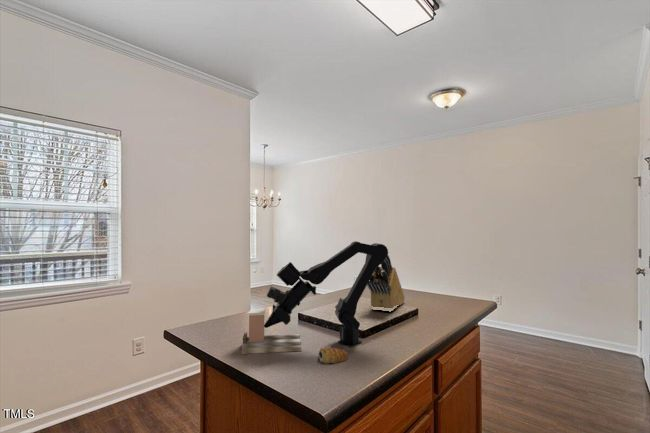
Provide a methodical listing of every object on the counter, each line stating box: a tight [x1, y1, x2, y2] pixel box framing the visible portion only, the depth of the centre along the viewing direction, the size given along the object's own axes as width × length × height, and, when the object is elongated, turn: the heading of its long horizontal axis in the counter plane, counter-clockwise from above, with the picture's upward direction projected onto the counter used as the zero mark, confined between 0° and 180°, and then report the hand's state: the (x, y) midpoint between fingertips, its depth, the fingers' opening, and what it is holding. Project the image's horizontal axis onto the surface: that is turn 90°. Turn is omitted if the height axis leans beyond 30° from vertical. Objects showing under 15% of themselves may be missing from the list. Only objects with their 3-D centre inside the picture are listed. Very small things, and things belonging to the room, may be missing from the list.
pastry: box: [318, 346, 349, 364], centre depth 103 cm, size 9×7×4 cm
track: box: [241, 332, 302, 355], centre depth 114 cm, size 20×10×4 cm, turn 98°
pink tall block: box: [248, 308, 266, 343], centre depth 113 cm, size 5×5×11 cm
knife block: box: [366, 254, 405, 308], centre depth 167 cm, size 11×35×31 cm, turn 152°
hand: (264, 326), depth 113 cm, fingers closed, pressing on pink tall block
